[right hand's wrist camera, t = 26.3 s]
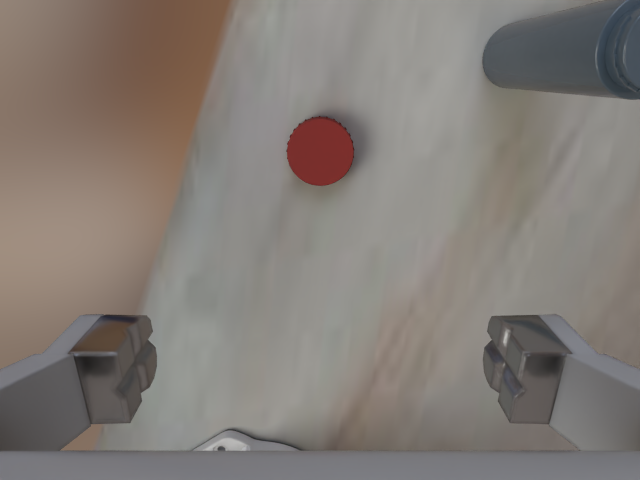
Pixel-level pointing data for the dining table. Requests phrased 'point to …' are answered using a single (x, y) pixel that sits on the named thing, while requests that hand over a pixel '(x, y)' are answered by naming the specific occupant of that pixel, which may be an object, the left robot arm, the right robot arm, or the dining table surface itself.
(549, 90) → the blue grey cylinder
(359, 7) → the dining table surface
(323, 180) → the lid
